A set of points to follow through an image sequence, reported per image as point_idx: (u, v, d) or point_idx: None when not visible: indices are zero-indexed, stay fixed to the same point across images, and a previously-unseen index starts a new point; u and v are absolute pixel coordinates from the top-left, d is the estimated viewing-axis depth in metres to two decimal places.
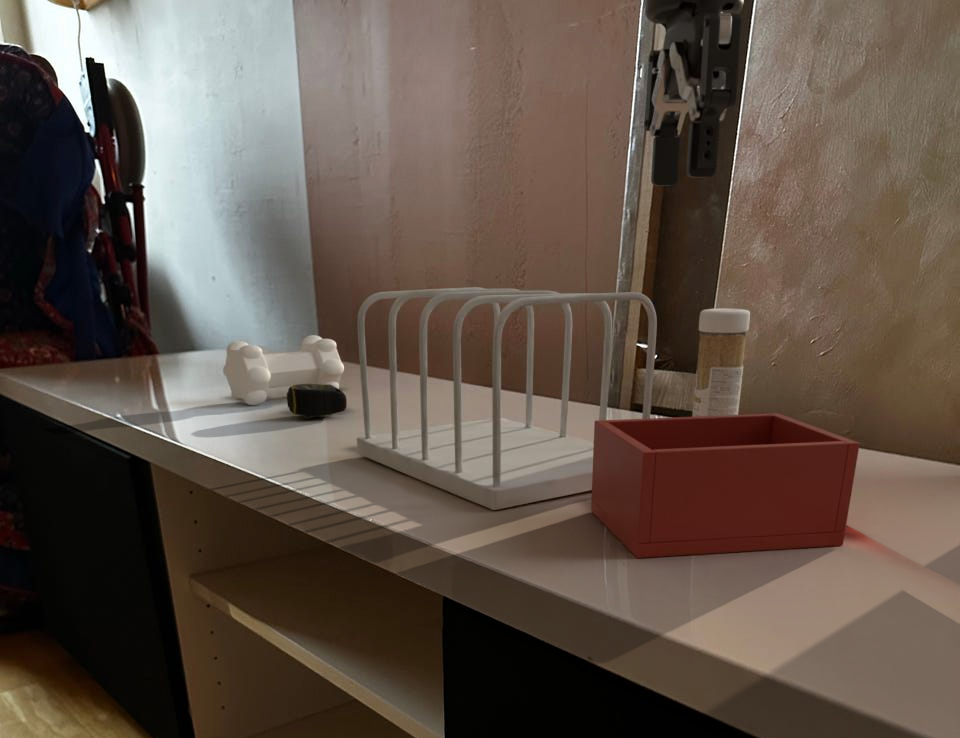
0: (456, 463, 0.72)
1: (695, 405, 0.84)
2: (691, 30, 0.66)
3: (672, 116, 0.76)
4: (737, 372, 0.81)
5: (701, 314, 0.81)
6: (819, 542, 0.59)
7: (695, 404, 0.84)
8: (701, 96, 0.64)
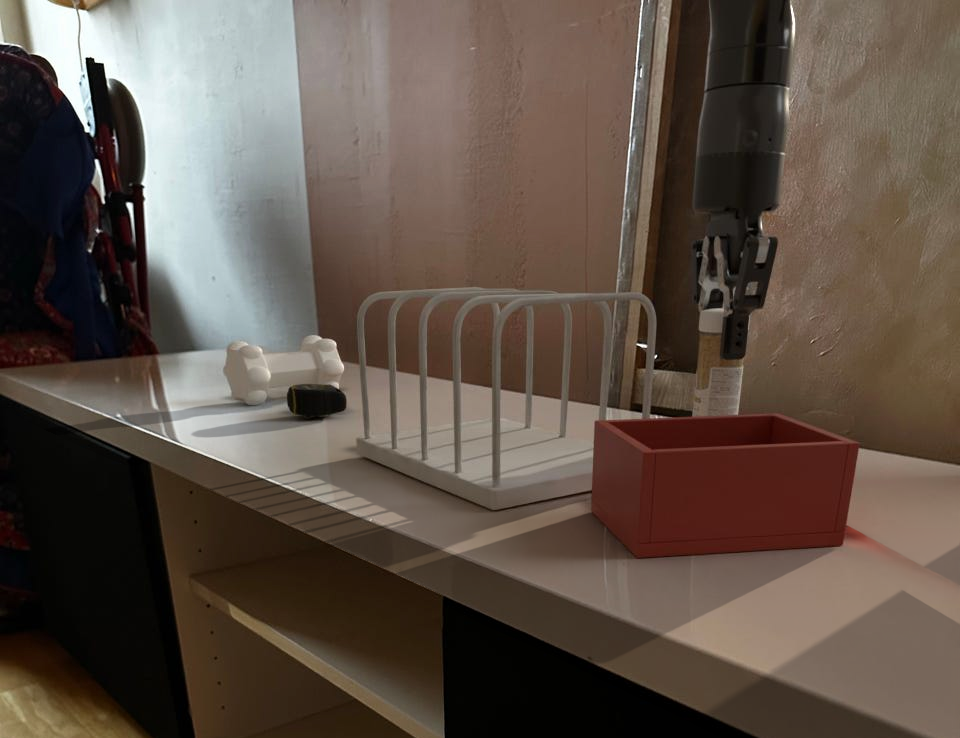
0: (456, 463, 0.72)
1: (695, 405, 0.84)
2: (734, 229, 0.75)
3: (717, 290, 0.84)
4: (737, 372, 0.81)
5: (701, 314, 0.81)
6: (819, 542, 0.59)
7: (695, 404, 0.84)
8: (734, 301, 0.76)
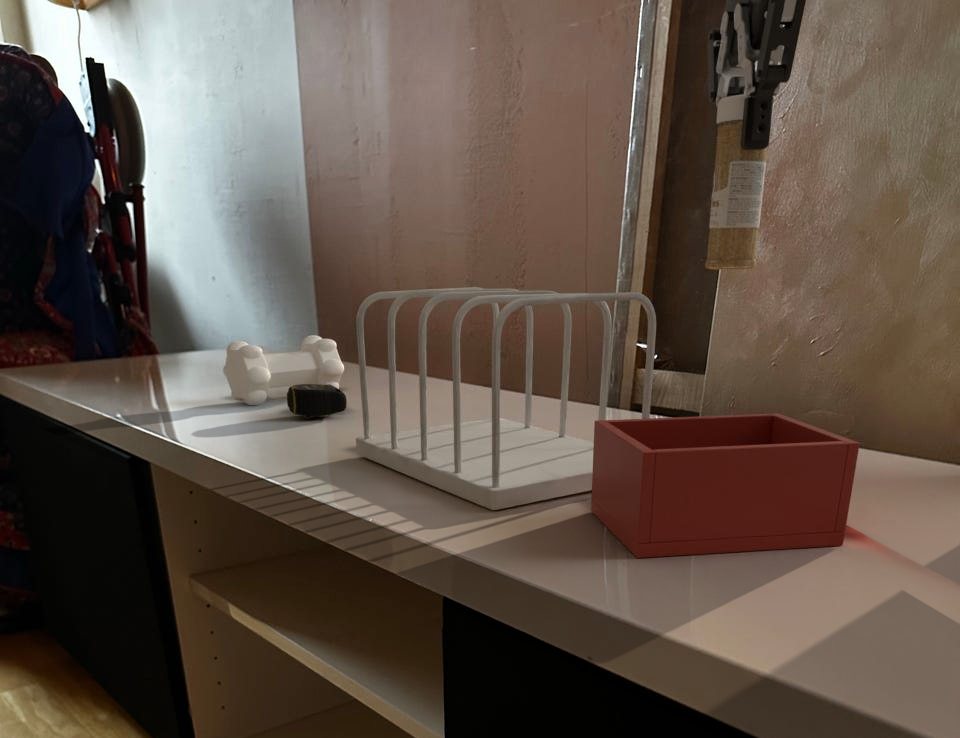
0: (455, 463, 0.72)
1: (713, 211, 0.77)
2: None
3: (737, 86, 0.77)
4: (760, 168, 0.74)
5: (719, 102, 0.73)
6: (819, 542, 0.59)
7: (713, 209, 0.76)
8: (758, 72, 0.68)
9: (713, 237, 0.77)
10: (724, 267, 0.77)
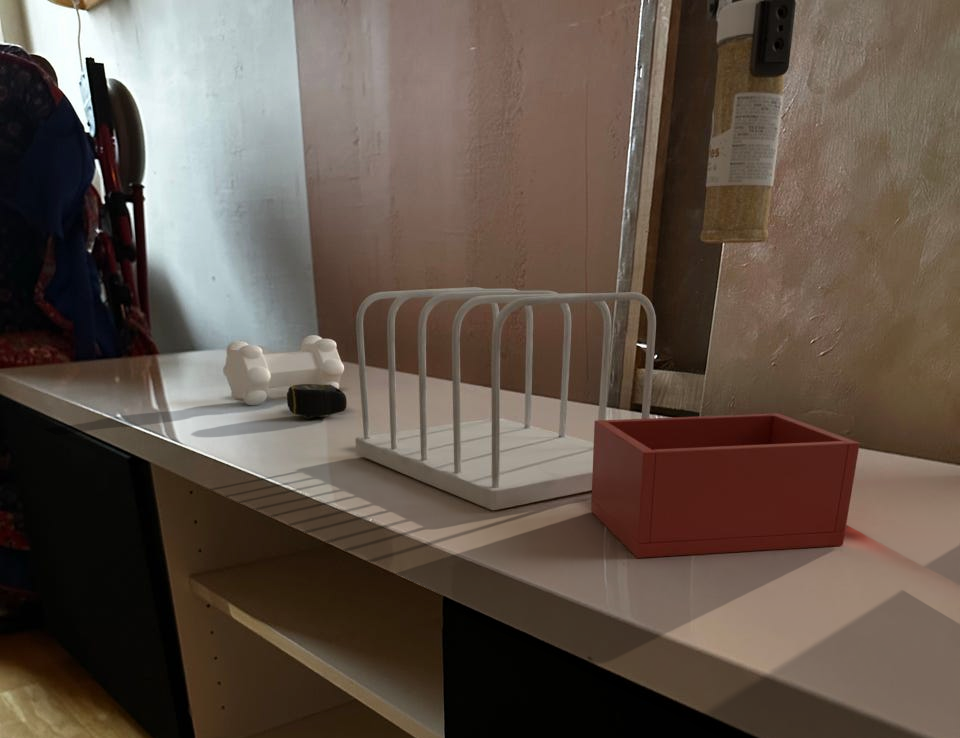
0: (455, 463, 0.72)
1: (711, 163, 0.57)
2: None
3: None
4: (775, 103, 0.54)
5: (721, 12, 0.54)
6: (819, 542, 0.59)
7: (711, 161, 0.57)
8: None
9: (711, 199, 0.57)
10: (725, 239, 0.57)
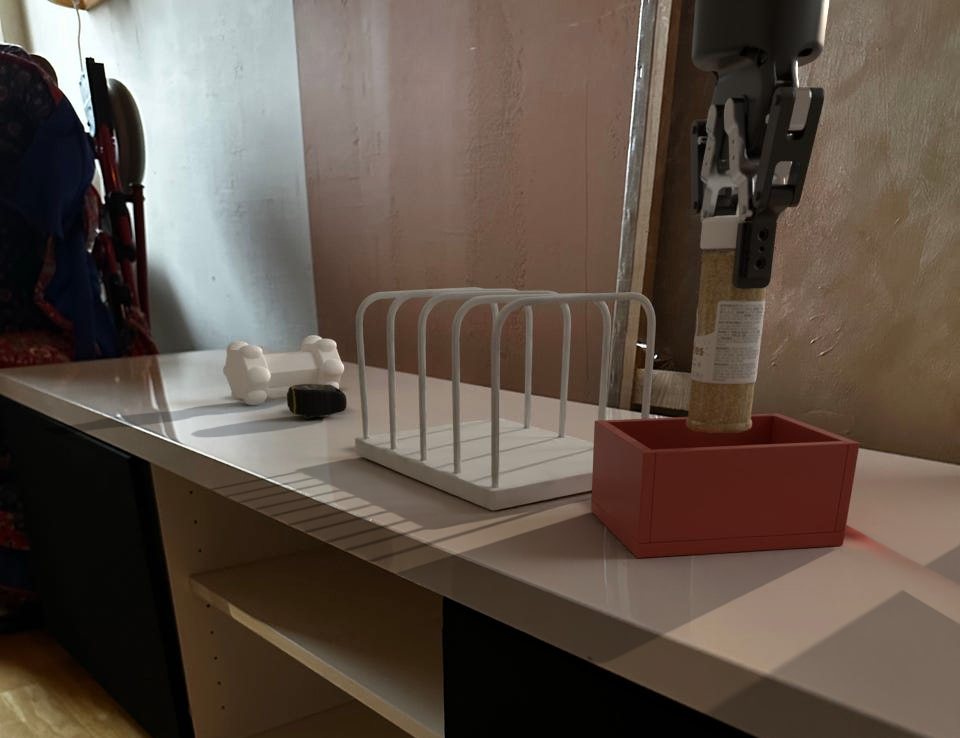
0: (455, 463, 0.72)
1: (695, 359, 0.58)
2: (755, 84, 0.50)
3: (728, 194, 0.59)
4: (757, 309, 0.56)
5: (704, 223, 0.55)
6: (819, 542, 0.59)
7: (695, 358, 0.58)
8: (756, 194, 0.50)
9: (696, 392, 0.59)
10: (710, 432, 0.59)
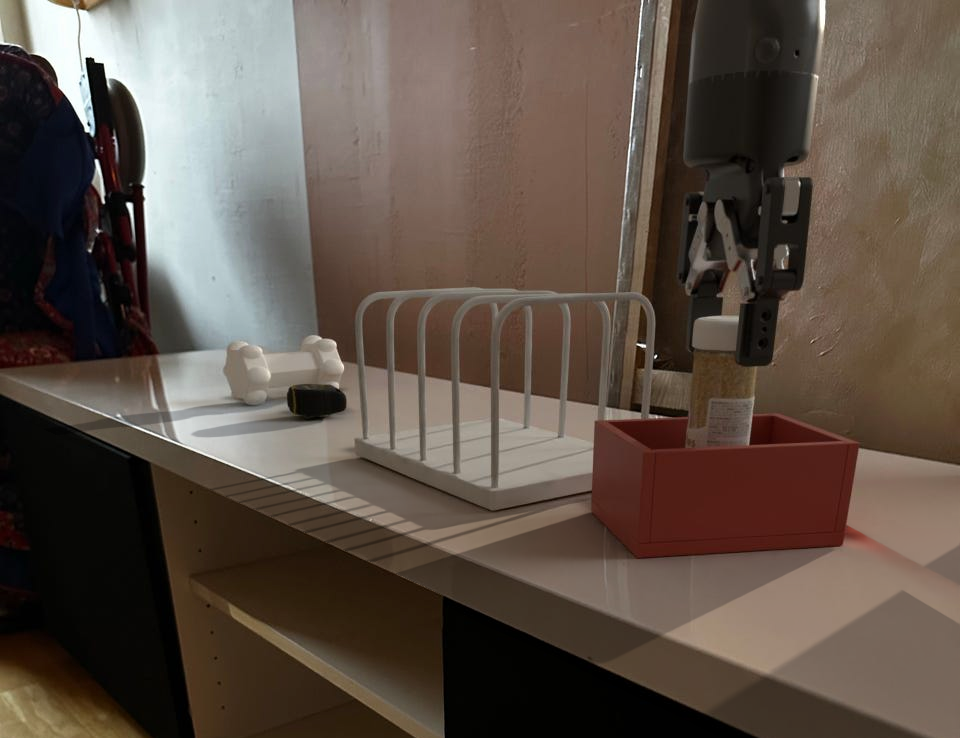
0: (454, 464, 0.72)
1: None
2: (744, 189, 0.52)
3: None
4: (746, 406, 0.58)
5: (695, 324, 0.57)
6: (819, 542, 0.59)
7: None
8: (758, 278, 0.50)
9: None
10: None
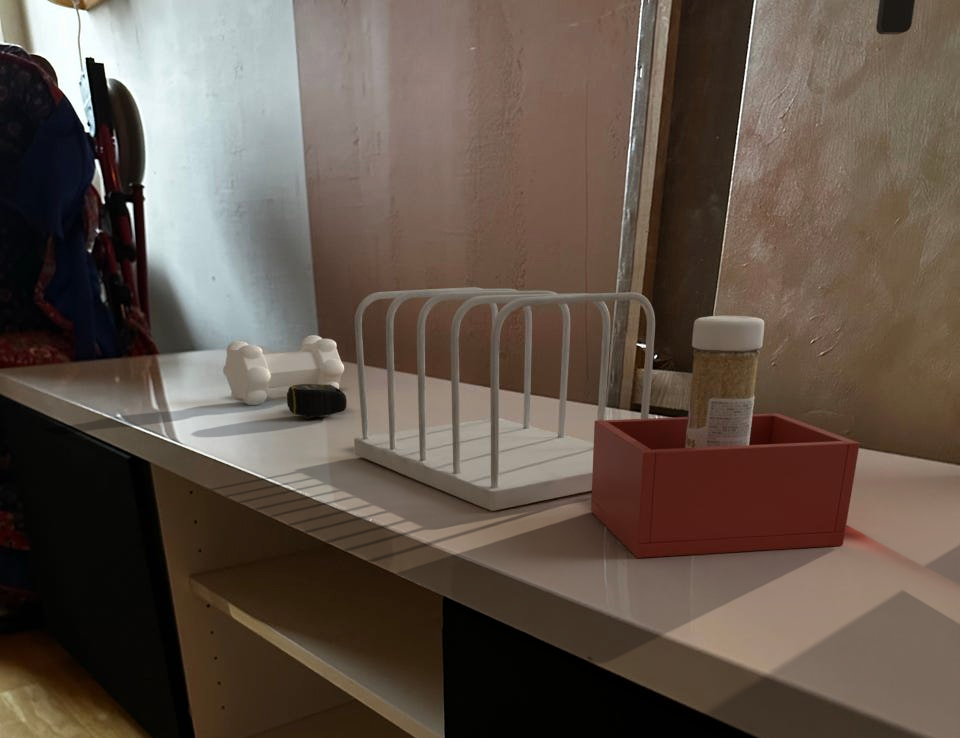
0: (454, 464, 0.72)
1: None
2: None
3: None
4: (746, 406, 0.58)
5: (695, 324, 0.57)
6: (819, 542, 0.59)
7: None
8: None
9: None
10: None
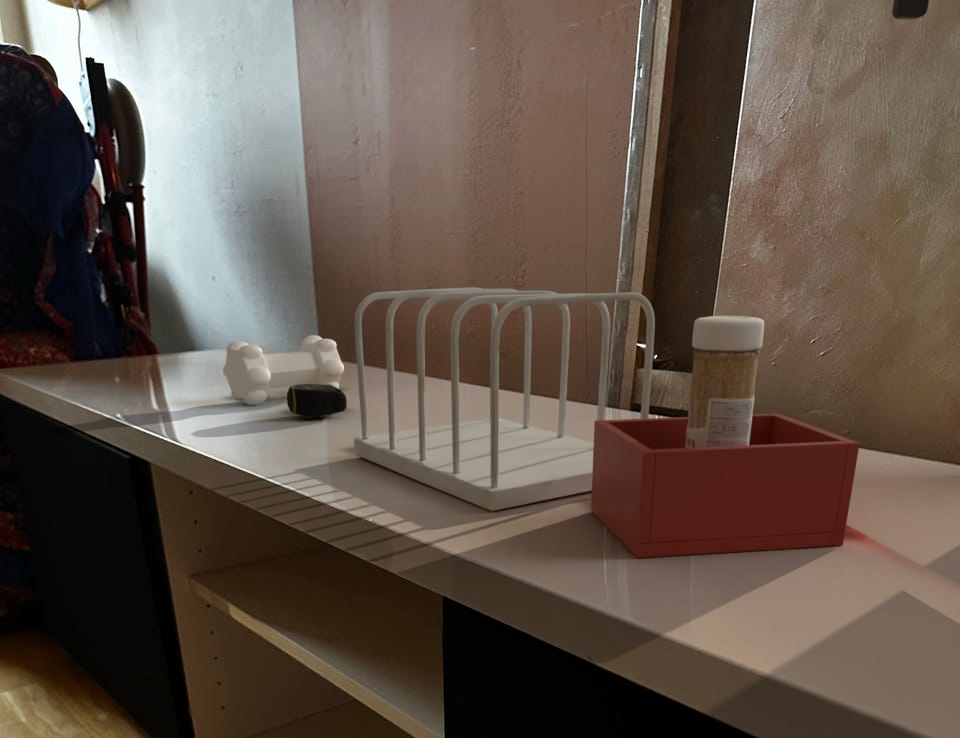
0: (454, 464, 0.72)
1: None
2: None
3: None
4: (746, 406, 0.58)
5: (695, 324, 0.57)
6: (819, 542, 0.59)
7: None
8: None
9: None
10: None
